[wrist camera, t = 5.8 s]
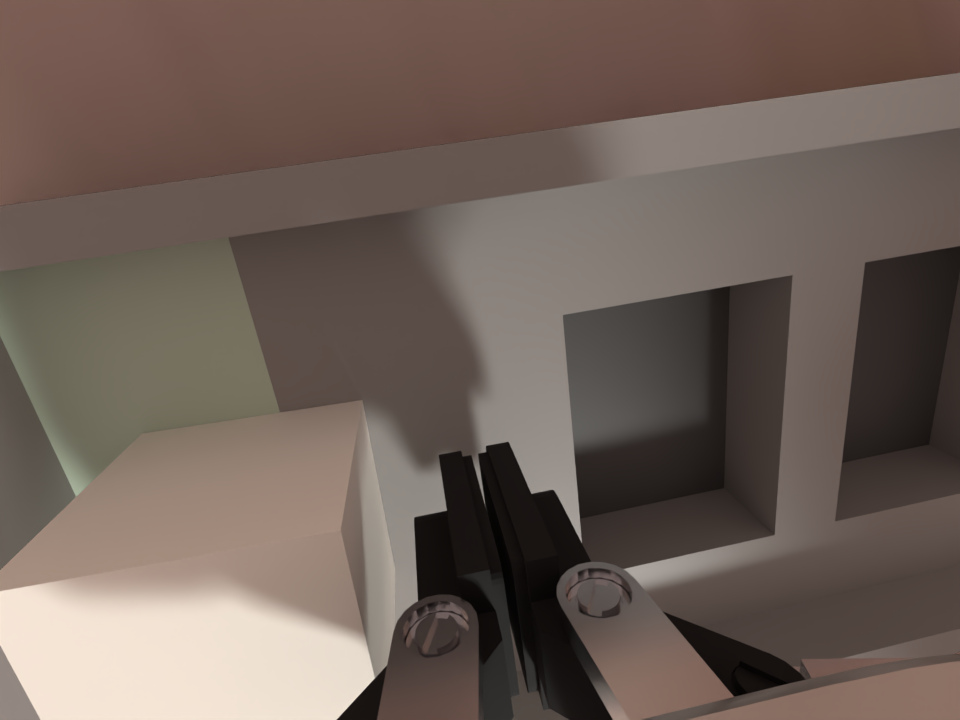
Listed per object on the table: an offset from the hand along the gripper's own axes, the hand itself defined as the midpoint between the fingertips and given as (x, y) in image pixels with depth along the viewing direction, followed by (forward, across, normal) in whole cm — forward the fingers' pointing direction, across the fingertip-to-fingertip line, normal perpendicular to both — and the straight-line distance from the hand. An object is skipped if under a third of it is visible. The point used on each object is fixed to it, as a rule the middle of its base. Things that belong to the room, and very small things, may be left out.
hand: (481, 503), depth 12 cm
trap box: (+4, -4, 0) cm, 6 cm away
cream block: (+2, +5, 0) cm, 5 cm away
